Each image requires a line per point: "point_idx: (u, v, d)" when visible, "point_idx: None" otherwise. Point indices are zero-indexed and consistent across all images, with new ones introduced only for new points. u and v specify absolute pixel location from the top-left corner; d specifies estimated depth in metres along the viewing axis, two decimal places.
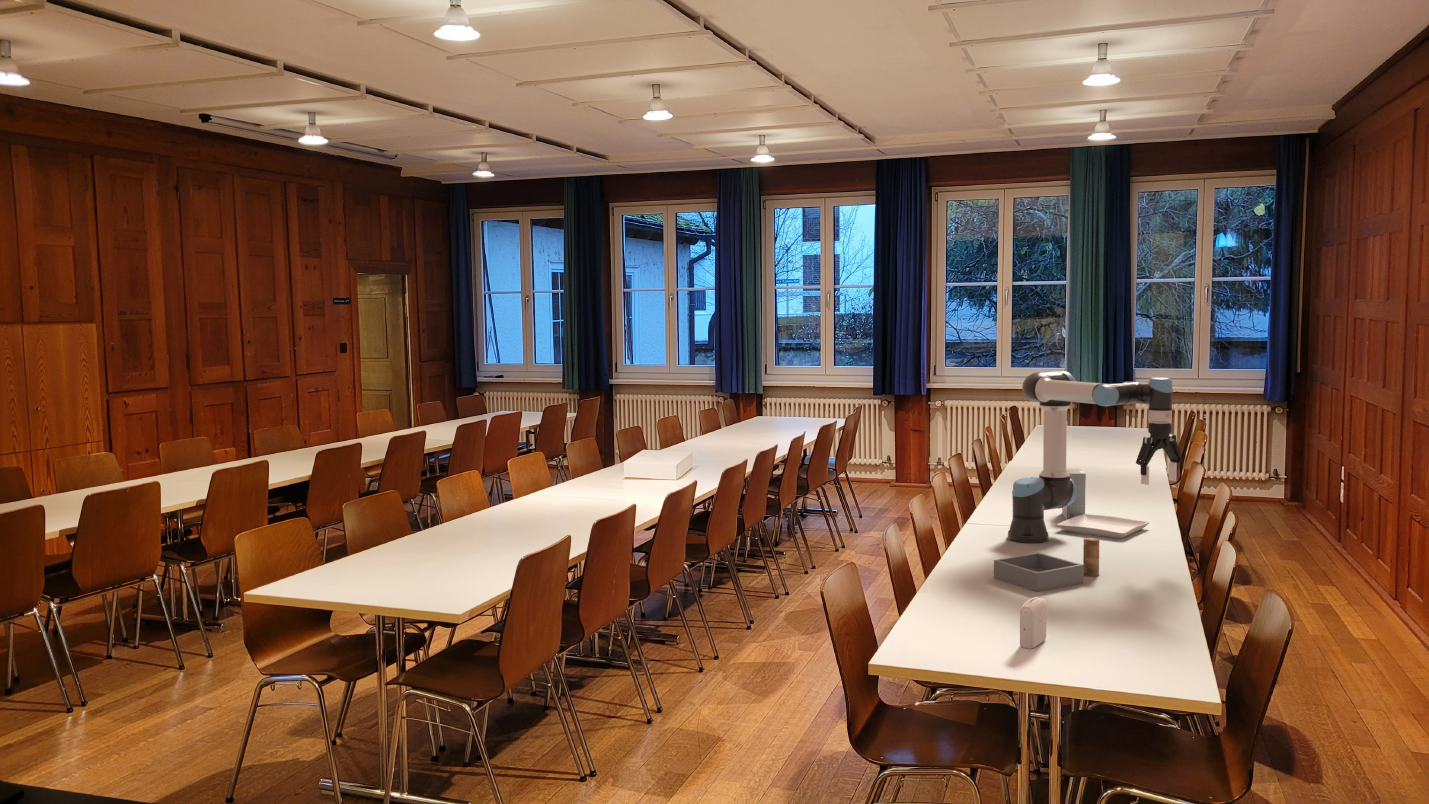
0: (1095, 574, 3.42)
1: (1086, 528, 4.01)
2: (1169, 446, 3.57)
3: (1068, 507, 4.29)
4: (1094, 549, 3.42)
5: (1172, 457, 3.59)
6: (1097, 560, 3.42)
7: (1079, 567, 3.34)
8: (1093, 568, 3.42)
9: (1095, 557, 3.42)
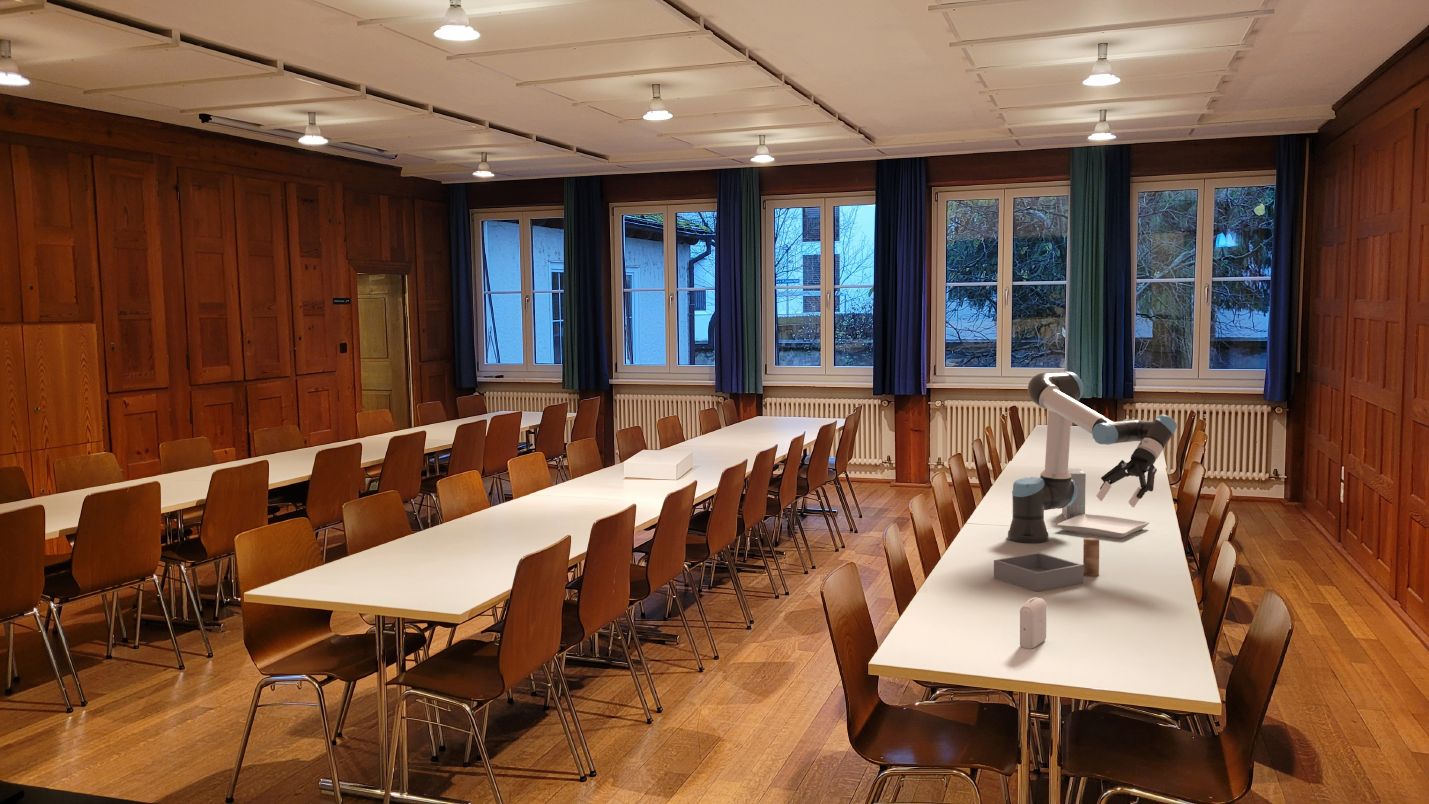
0: (1095, 574, 3.42)
1: (1086, 528, 4.01)
2: (1138, 470, 3.47)
3: (1068, 507, 4.29)
4: (1094, 549, 3.42)
5: None
6: (1097, 560, 3.42)
7: (1079, 567, 3.34)
8: (1093, 568, 3.42)
9: (1095, 557, 3.42)
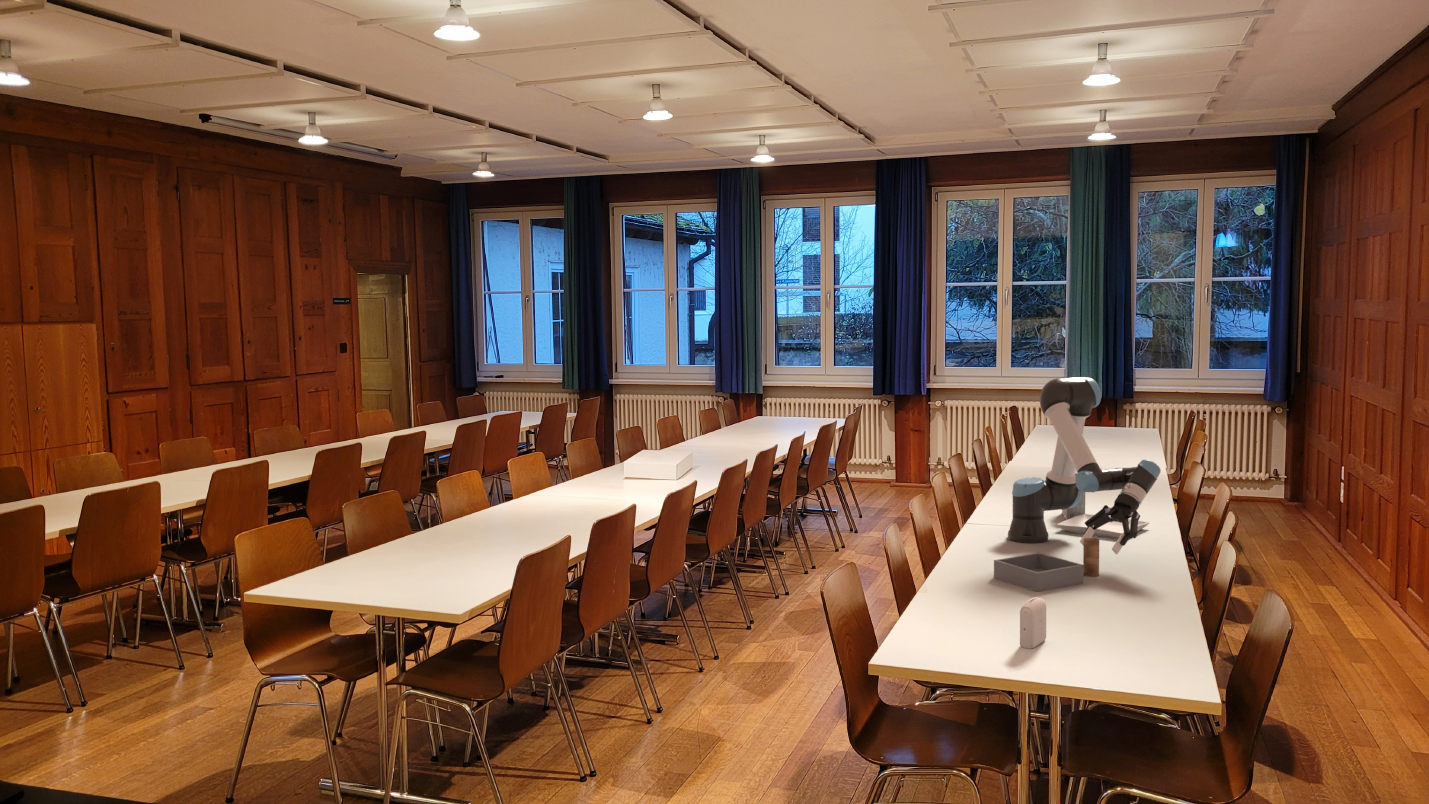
0: (1095, 574, 3.42)
1: (1086, 528, 4.01)
2: (1121, 517, 3.45)
3: None
4: (1094, 549, 3.42)
5: None
6: (1097, 560, 3.42)
7: (1079, 567, 3.34)
8: (1093, 568, 3.42)
9: (1095, 557, 3.42)
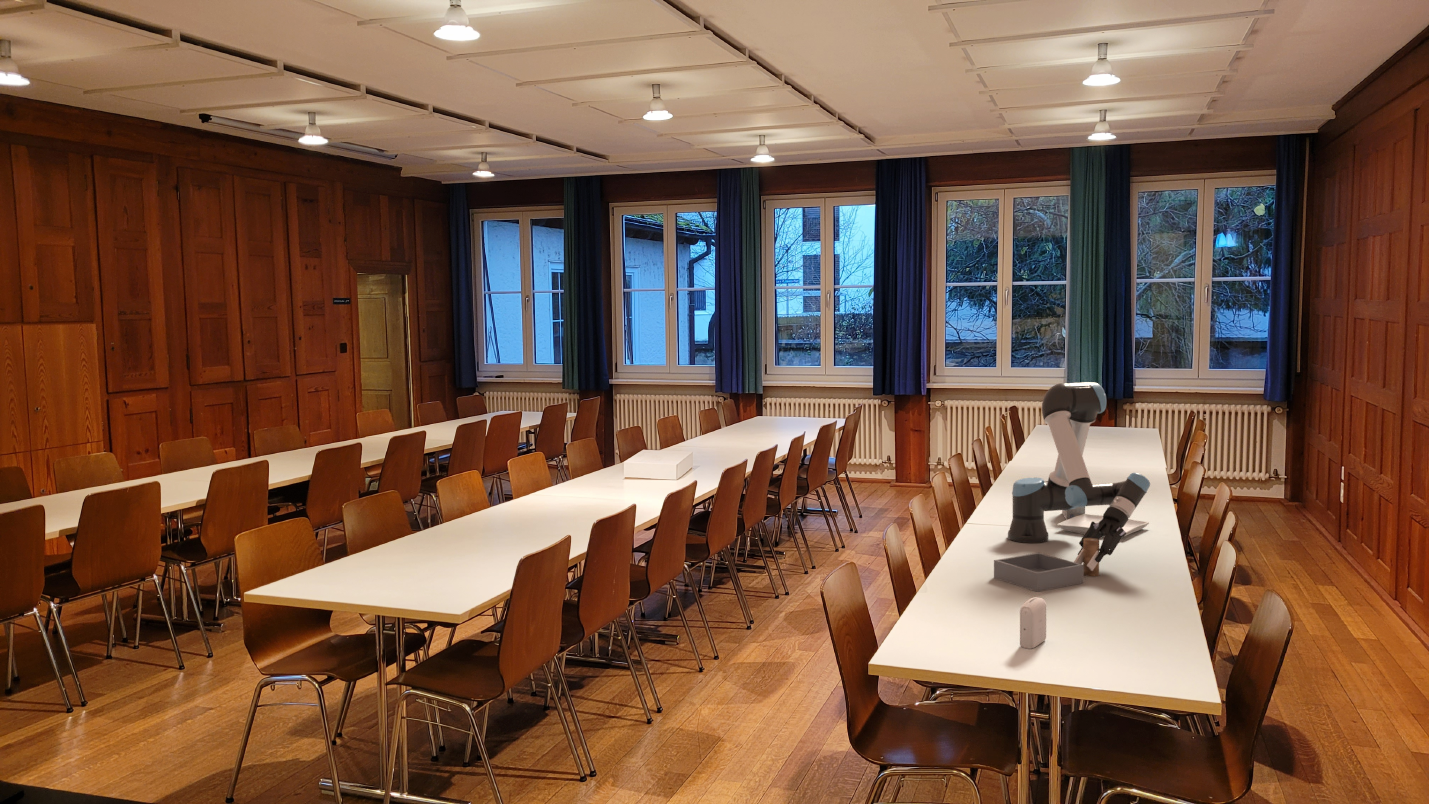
0: (1095, 574, 3.42)
1: (1086, 528, 4.01)
2: (1106, 531, 3.44)
3: None
4: (1094, 549, 3.42)
5: None
6: None
7: (1079, 567, 3.34)
8: None
9: None
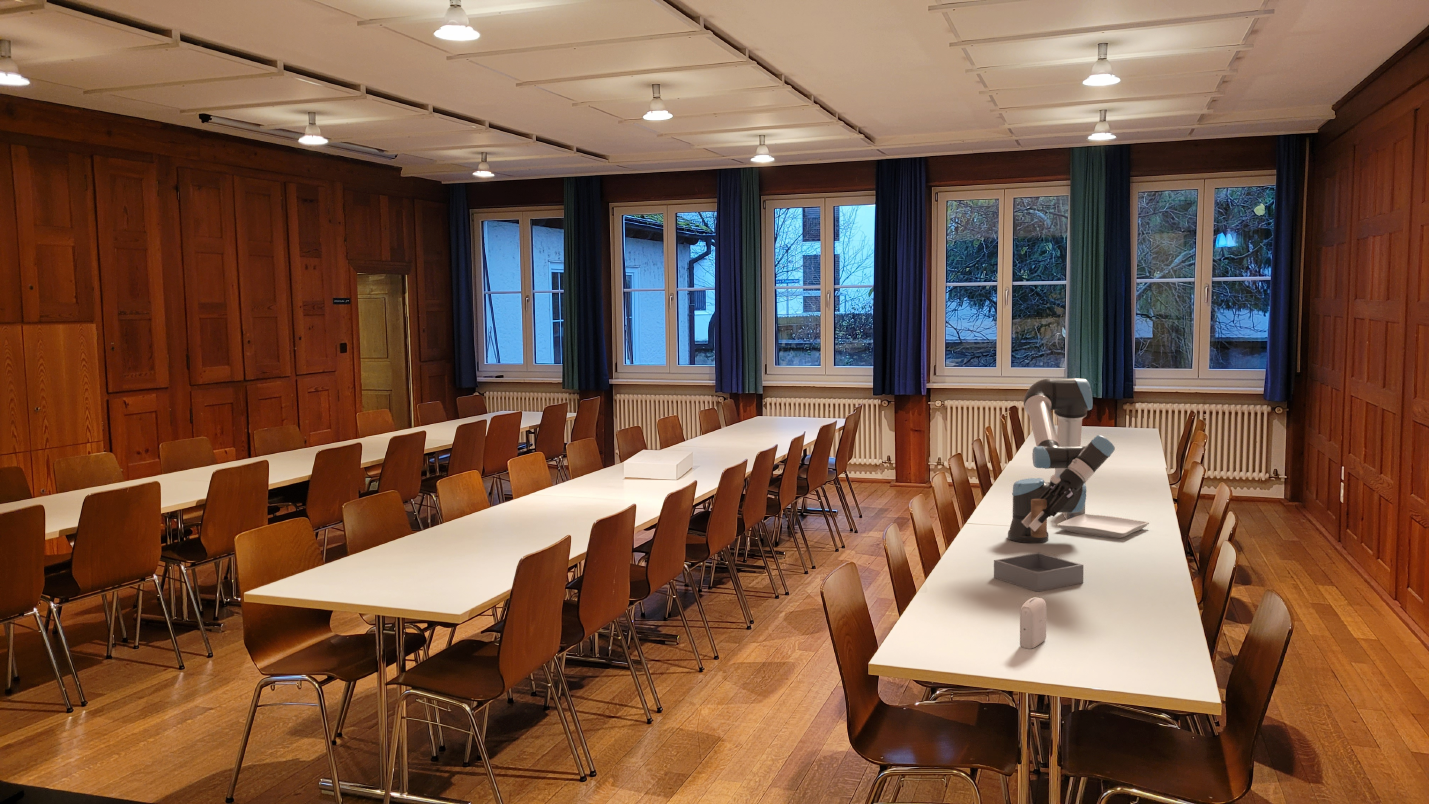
0: (1040, 535, 3.35)
1: (1086, 528, 4.01)
2: (1056, 492, 3.35)
3: None
4: (1038, 509, 3.35)
5: None
6: None
7: (1079, 567, 3.34)
8: (1038, 529, 3.35)
9: None
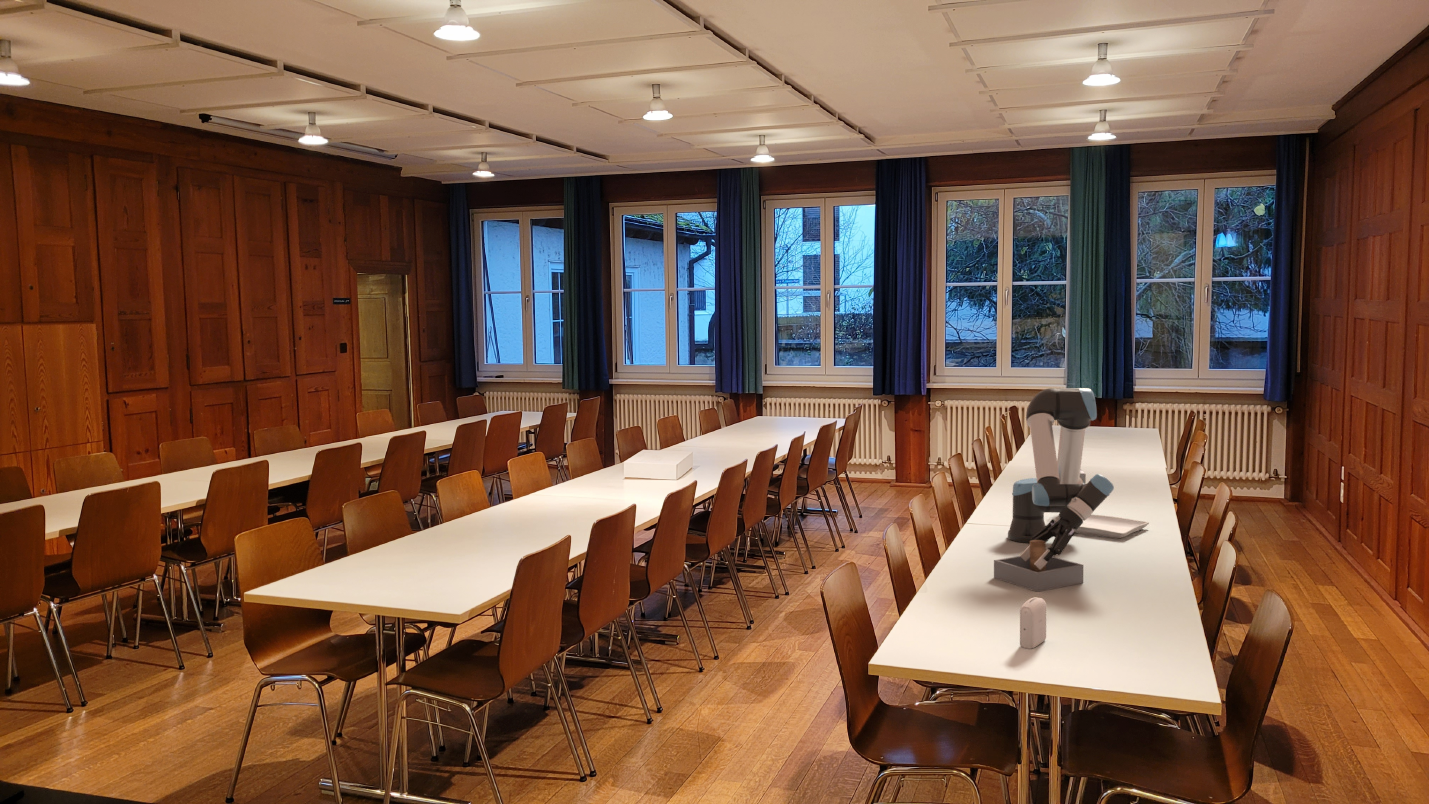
0: None
1: (1086, 528, 4.01)
2: (1057, 531, 3.36)
3: None
4: (1037, 551, 3.36)
5: None
6: None
7: (1079, 567, 3.34)
8: (1037, 570, 3.37)
9: None
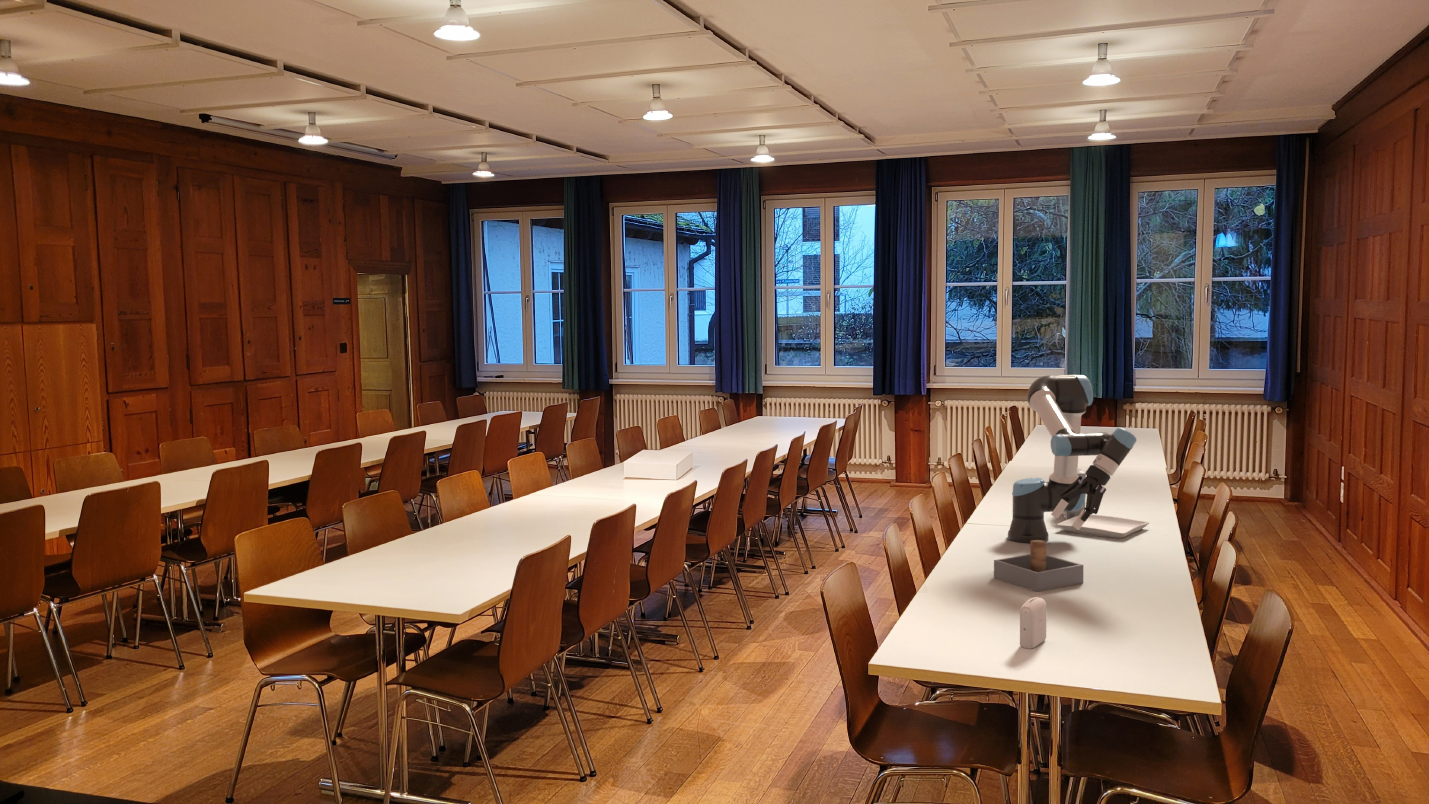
0: None
1: (1086, 528, 4.01)
2: (1087, 490, 3.39)
3: None
4: (1037, 551, 3.36)
5: None
6: (1042, 563, 3.36)
7: (1079, 567, 3.34)
8: (1037, 570, 3.37)
9: (1040, 559, 3.36)
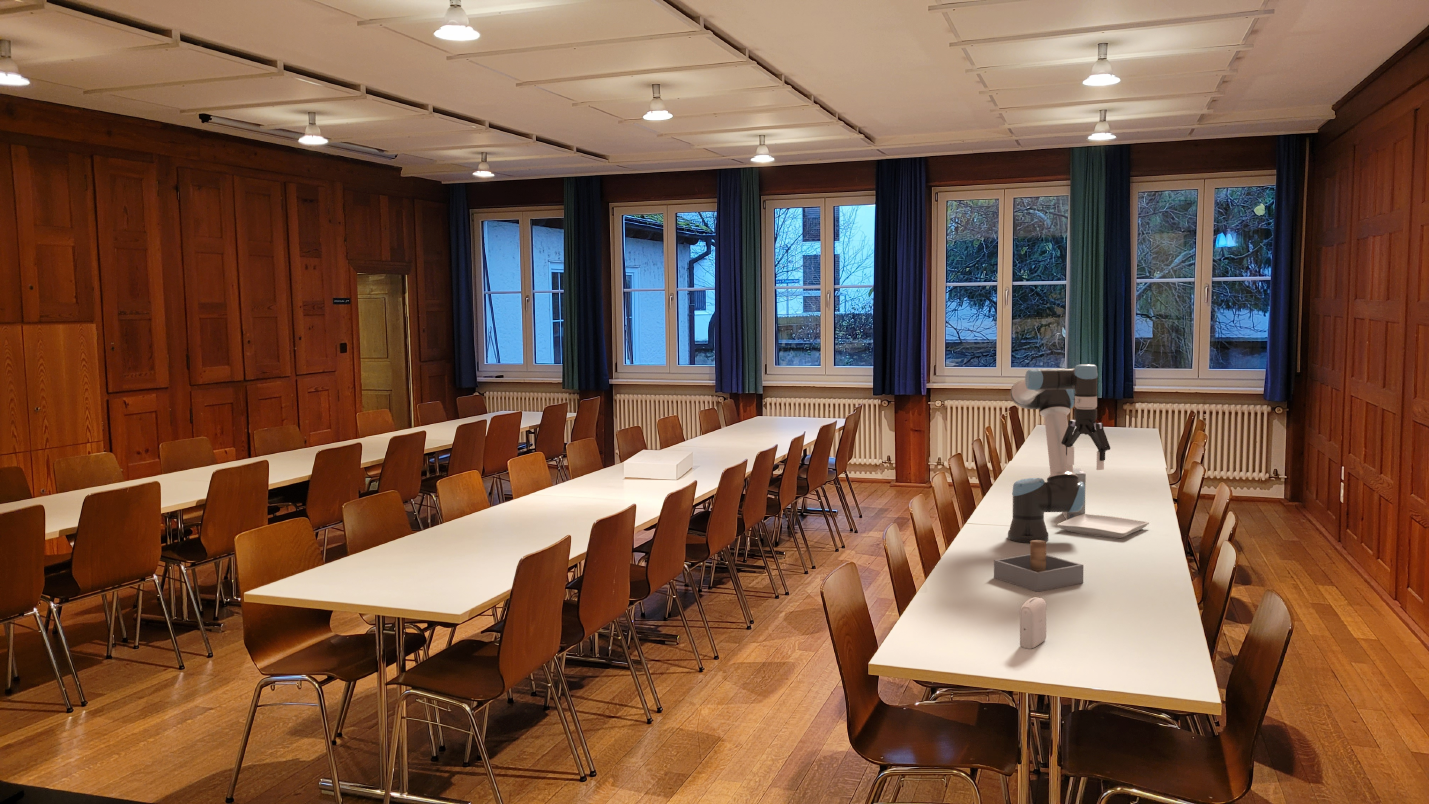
0: None
1: (1086, 528, 4.01)
2: (1088, 433, 3.60)
3: None
4: (1037, 551, 3.36)
5: None
6: (1042, 563, 3.36)
7: (1079, 567, 3.34)
8: (1037, 570, 3.37)
9: (1039, 559, 3.36)
